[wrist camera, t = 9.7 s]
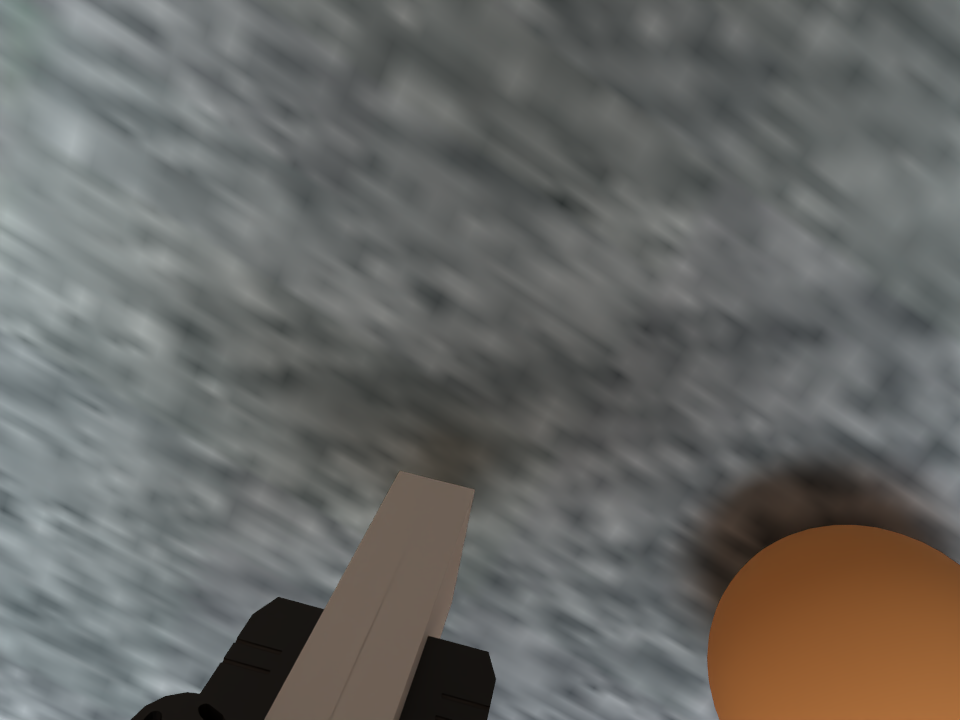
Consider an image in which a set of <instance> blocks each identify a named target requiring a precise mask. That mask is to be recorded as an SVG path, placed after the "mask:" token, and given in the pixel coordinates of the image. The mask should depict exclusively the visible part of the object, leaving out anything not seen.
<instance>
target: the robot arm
mask: <svg viewBox="0 0 960 720" xmlns="http://www.w3.org/2000/svg"><path fill="white" fill-rule="evenodd" d="M474 492H475V490H474V489H470V488H466V487H462V486H459V485H455V484H451V483H447V482H443V481H439V480H435V479H431V478H427V477H423V476H419V475H415V474H411V473H407V472H403V471H399V473H398V475H397V477H396V478H395V480H394V482H393V484H392V486H391V488H390V489H389V491H388V493H387V495H386V497H385V499H384V500H383V502H382V504H381V506H380V508H379V510H378V511H377V513H376V515H375V517H374V519H373V521H372V522H371V524H370V526H369V528H368V530H367V532H366V534H365V535H364V537H363V539H362V541H361V543H360V545H359V546H358V548H357V550H356V552H355V554H354V556H353V557H352V559H351V561H350V563H349V565H348V567H347V568H346V570H345V572H344V574H343V576H342V578H341V579H340V581H339V583H338V585H337V587H336V589H335V591H334V592H333V594H332V596H331V598H330V600H329V602H328V603H327V605H326V607H325V609H321V608H317V607H313V606H310V605H306V604H302V603H299V602H295V601H291V600H288V599H284V598H280V597H278V598H276V599H275V600H273V601H272V602H270V603H269V604H267V605H266V606H264V607H263V608H261V609H260V610H258V611H257V612H255V613H254V614H253V615H252V616H251V618H250V619H249V621H248V622H247V624H246V625H245V627H244V628H243V630H242V631H241V633H240V634H239V636H238V637H237V640H236V643H233V645H232V646H231V648H230V649H229V651H228V652H227V654H226V655H225V657H224V660H223V662H222V663H220V664H219V666H218V667H217V669H216V670H215V672H214V674H213V675H212V677H211V678H210V680H209V681H208V683H207V684H206V686H205V687H204V689H203V690H202V692H201V693H200V694H197V693H189V692H186V693H180V694H175V695H169V696H165V697H163V698H161V699H159V700H157V701H155V702H152V703H150V704H148V705H146V706H145V707H144V708H143V709H142V710H141V711H139V712H138V713H137V714H136V715H135V716H134V717H133V718H132V719H131V720H487V718H488V713H489V708H490V704H491V699H492V695H493V690H494V686H495V681H496V677H495V674H494V670H493V667H492V663H491V659H490V656H489V652H487V651H483V650H479V649H476V648H472V647H468V646H464V645H461V644H457V643H453V642H450V641H446V640H442V639H440V637H441V634H442V631H443V628H444V625H445V621H446V618H447V615H448V612H449V609H450V606H451V603H452V599H453V594H454V589H455V584H456V579H457V575H458V570H459V565H460V560H461V555H462V550H463V546H464V541H465V536H466V531H467V526H468V521H469V516H470V512H471V507H472V502H473V497H474Z"/></svg>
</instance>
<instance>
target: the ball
mask: <svg viewBox="0 0 960 720" xmlns="http://www.w3.org/2000/svg"><path fill="white" fill-rule="evenodd" d="M707 661H708V676H709V684H710V688H711V693H712V697H713V701H714V706H715V709H716V711H717V714H718V717H719V719H720V720H960V565H959V564H957V563H956V562H955V561H953V560H952V559H950V558H949V557H947V556H946V555H944V554H943V553H942V552H940V551H938V550H936V549H934V548H932V547H931V546H929V545H927V544H925V543H923V542H921V541H918V540H916V539H913V538H910V537H908V536H905V535H903V534H900V533H897V532H893V531H889V530H885V529H881V528H877V527H869V526H861V525H830V526H823V527H817V528H811V529H807V530H804V531H801V532H798V533H795V534H792V535H789V536H786V537H784V538H782V539H780V540H778V541H776V542H774V543H773V544H771V545H769V546H767V547H766V548H764V549H763V550H761V551H760V552H759V553H757V554H756V555H755V556H754V557H753V558H751V559H750V560H749V561H748V562H747V563H746V564H745V565H744V566H743V567H742V568H741V570H740V571H739V572H738V573H737V574H736V576H735V577H734V578H733V580H732V581H731V582H730V584H729V585H728V587H727V589H726V590H725V592H724V594H723V595H722V597H721V599H720V601H719V604H718V606H717V608H716V611H715V614H714V618H713V622H712V625H711V629H710V634H709V642H708V655H707Z"/></svg>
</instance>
